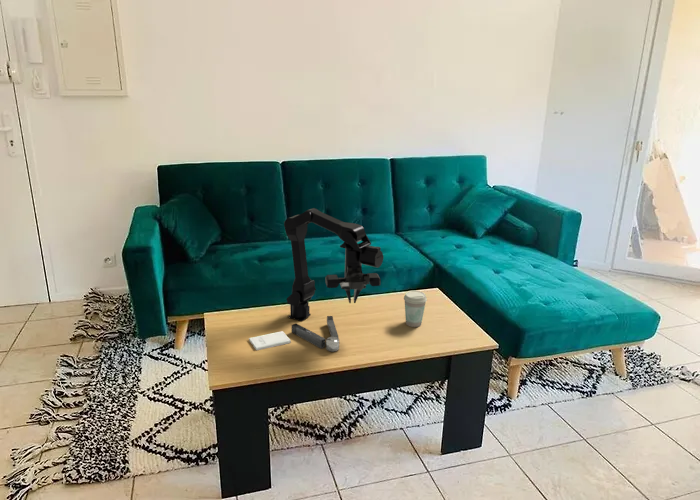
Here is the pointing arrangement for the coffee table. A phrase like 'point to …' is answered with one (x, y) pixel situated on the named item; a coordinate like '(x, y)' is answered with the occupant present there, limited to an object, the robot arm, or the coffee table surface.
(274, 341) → the external hard drive
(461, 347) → the coffee table surface
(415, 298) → the coffee cup
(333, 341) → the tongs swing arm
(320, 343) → the tongs fixed arm
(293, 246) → the robot arm
